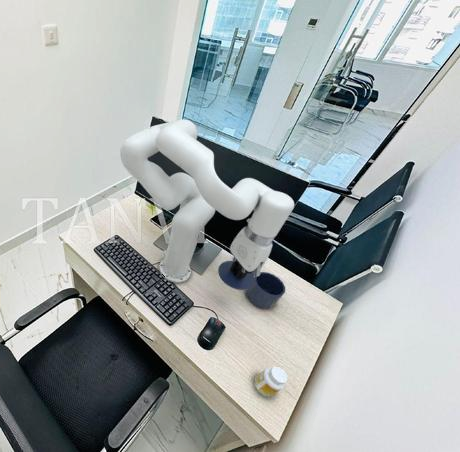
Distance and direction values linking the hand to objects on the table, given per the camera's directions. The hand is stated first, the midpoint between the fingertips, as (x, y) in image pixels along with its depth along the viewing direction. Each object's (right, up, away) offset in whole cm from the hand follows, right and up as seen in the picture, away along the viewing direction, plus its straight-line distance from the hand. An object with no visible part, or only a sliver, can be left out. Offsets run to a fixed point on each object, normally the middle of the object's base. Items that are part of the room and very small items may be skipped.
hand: (237, 273), depth 83 cm
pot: (+14, -11, +13) cm, 22 cm away
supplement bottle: (+4, -31, -9) cm, 33 cm away
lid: (0, -1, +1) cm, 1 cm away
